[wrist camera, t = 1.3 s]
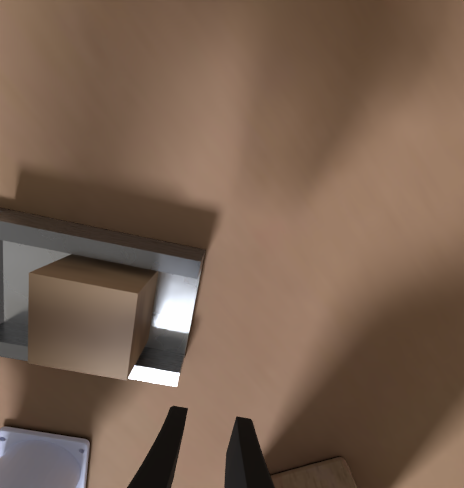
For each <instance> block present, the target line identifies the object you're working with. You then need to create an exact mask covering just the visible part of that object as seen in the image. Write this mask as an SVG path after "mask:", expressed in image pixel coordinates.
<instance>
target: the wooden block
mask: <svg viewBox="0 0 464 488" xmlns="http://www.w3.org/2000/svg"><path fill="white" fill-rule="evenodd" d="M271 479H272V481H273V484H274V487H275V488H357V485H356V483H355V481H354V478H353V476H352V474H351V471H350V469H349V466H348V464H347V462H346V461H345V460H344V458H343V457H337V458H333V459H330V460H326V461H322V462H319V463H315V464H311V465H308V466H304V467H300V468H297V469H293V470H289V471H286V472H282V473H278V474H275V475H271Z"/></svg>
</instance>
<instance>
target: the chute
mask: <svg viewBox="0 0 464 488" xmlns="http://www.w3.org/2000/svg"><path fill="white" fill-rule="evenodd" d="M205 251H206V250H203V249H199V248H194V247H189V246H184V245H179V244H174V243H169V242H165V241H160V240H155V239H150V238H145V237H140V236H135V235H131V234H126V233H121V232H116V231H111V230H106V229H101V228H97V227H92V226H87V225H82V224H77V223H72V222H67V221H62V220H58V219H53V218H48V217H43V216H38V215H33V214H28V213H24V212H19V211H14V210H9V209H4V208H0V356H1V357H6V358H12V359H18V360H24V361H28V298H29V272H31V271H34V270H36V269H38V268H41V267H43V266H45V265H48V264H50V263H52V262H54V261H57V260H59V259H61V258H64V257H66V256H68V255H71V254H74V255H79V256H84V257H89V258H94V259H99V260H104V261H109V262H114V263H119V264H124V265H129V266H134V267H139V268H144V269H149V270H155V271H159V272H158V279H157V286H156V292H155V299H154V306H153V312H152V319H151V326H150V332H149V339H148V341H147V343H146V345H145V347H144V349H143V351H142V353H141V355H140V356H139V358H138V360H137V362H136V364H135V366H134V368H133V370H132V371H131V373H130V375H129V377H128V379H134V380H140V381H146V382H151V383H157V384H163V385H169V386H175V387H177V384H178V380H179V377H180V373H181V369H182V366H183V362H184V358H185V353H186V347H187V342H188V337H189V332H190V327H191V322H192V317H193V312H194V307H195V302H196V296H197V291H198V286H199V281H200V276H201V271H202V266H203V261H204V256H205Z"/></svg>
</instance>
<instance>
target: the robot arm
mask: <svg viewBox="0 0 464 488" xmlns="http://www.w3.org/2000/svg"><path fill="white" fill-rule="evenodd" d="M187 410H188V408H183V407H177V406H172V407H170V409H169V412H168V415H167V417H166V420H165V422H164V424H163V426H162V428H161V430H160V432H159V434H158V436H157V438H156V440H155V442H154V444H153V446H152V447H151V449H150V451H149V453H148V454H147V456H146V458H145V460H144V461H143V463H142V465H141V466H140V468H139V470H138V471H137V473H136V475H135V476H134V478H133V479H132V481H131V482H130V484H129V486H128V487H127V488H171V485H172V482H173V478H174V473H175V468H176V464H177V459H178V454H179V450H180V445H181V440H182V436H183V431H184V426H185V421H186V415H187ZM89 447H90V442H89V441H88V440H87V439H83V438H77V437H70V436H64V435H57V434H51V433H45V432H38V431H32V430H26V429H19V428H13V427H6V426H4V427H2V428H1V429H0V488H86V479H87V468H88V457H89ZM225 488H275V487H274V484H273V481H272V479H271V476H270V473H269V471H268V468H267V465H266V463H265V460H264V457H263V454H262V451H261V448H260V445H259V442H258V439H257V435H256V432H255V429H254V425H253V422H252V420H251V419H248V418H242V417H236V420H235V424H234V427H233V431H232V435H231V438H230V442H229V445H228V449H227V453H226V468H225Z"/></svg>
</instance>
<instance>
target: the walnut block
mask: <svg viewBox="0 0 464 488" xmlns="http://www.w3.org/2000/svg"><path fill="white" fill-rule="evenodd" d="M158 272H159V271H155V270H149V269H144V268H139V267H134V266H129V265H124V264H119V263H114V262H109V261H104V260H99V259H94V258H89V257H84V256H79V255H74V254H71V255H68V256H66V257H64V258H61V259H59V260H57V261H54V262H52V263H50V264H48V265H45V266H43V267H41V268H38V269H36V270H34V271H31V272H29V298H28V364H34V365H39V366H45V367H51V368H57V369H63V370H69V371H74V372H80V373H86V374H92V375H98V376H103V377H109V378H115V379H121V380H127V379H128V377H129V375H130V373H131V371H132V370H133V368H134V366H135V364H136V362H137V360H138V358H139V356H140V355H141V353H142V351H143V349H144V347H145V345H146V343H147V341H148V339H149V332H150V326H151V319H152V312H153V306H154V299H155V292H156V286H157V279H158Z"/></svg>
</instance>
